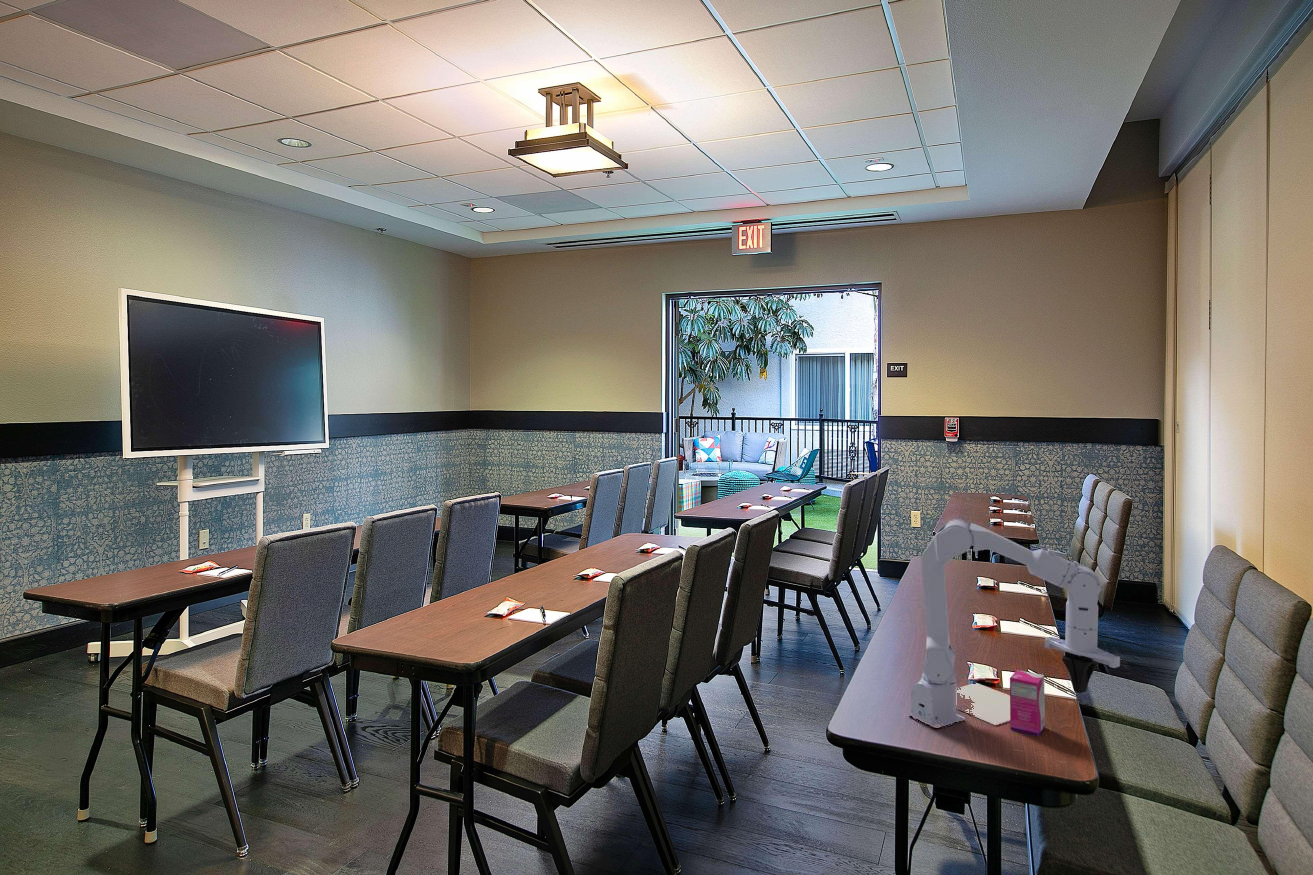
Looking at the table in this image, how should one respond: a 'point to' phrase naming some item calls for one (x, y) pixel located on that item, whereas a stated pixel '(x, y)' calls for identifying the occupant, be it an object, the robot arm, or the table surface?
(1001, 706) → the grey mat
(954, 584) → the table surface
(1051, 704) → the table surface
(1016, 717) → the supplement box
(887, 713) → the table surface
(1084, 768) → the table surface
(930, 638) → the robot arm
